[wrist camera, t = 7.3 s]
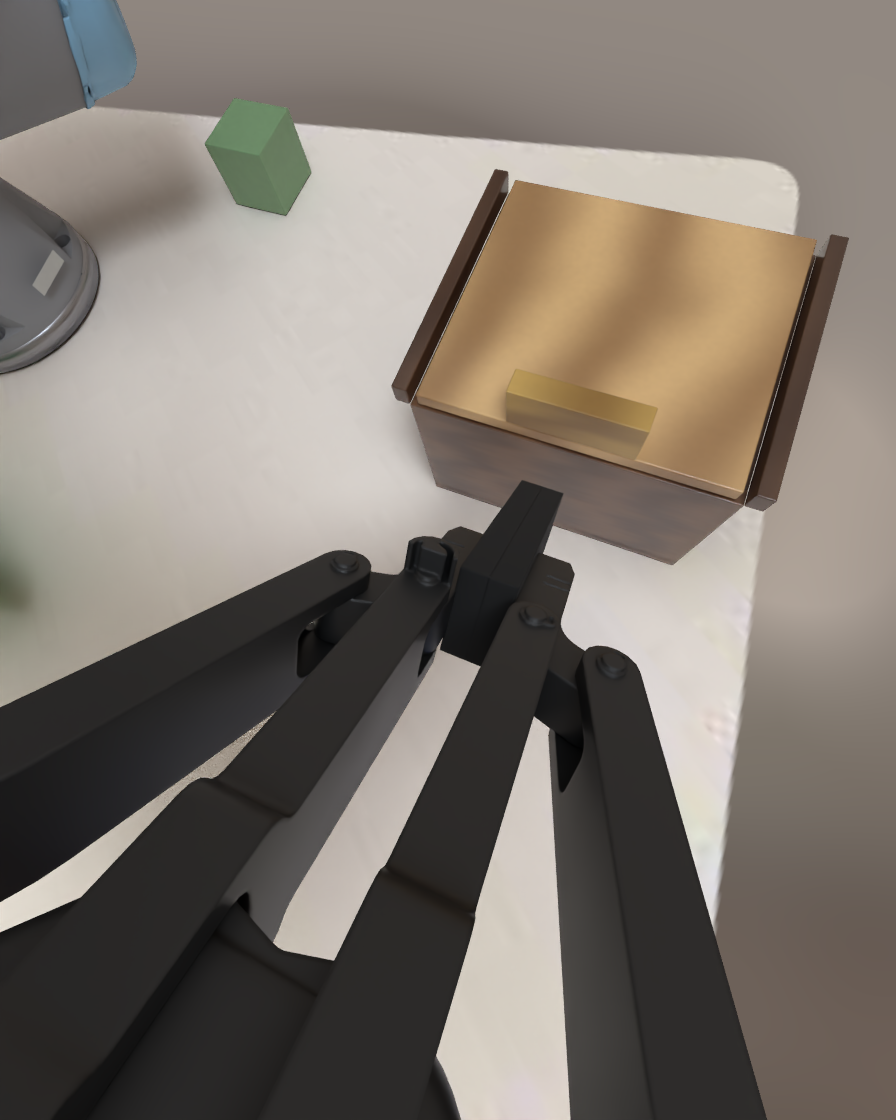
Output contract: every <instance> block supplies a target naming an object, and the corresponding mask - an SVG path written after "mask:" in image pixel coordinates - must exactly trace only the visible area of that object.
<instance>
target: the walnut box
mask: <svg viewBox="0 0 896 1120" xmlns="http://www.w3.org/2000/svg"><path fill="white" fill-rule="evenodd" d="M507 194H508V172H507V171H503V170H498V169H495V170H494V173H493V175H492V177H491V179H490V181H489V183H488V185H487V187H486V189H485V191H484V193H483V196H482V198H481V200H480V202H479V204H478V206H477V208H476V210H475V212H474V214H473V216H472V218H471V221H470V223H469V225H468V227H467V229H466V231H465V233H464V235H463V237H462V239H461V241H460V244H459V246H458V248H457V250H456V252H455V254H454V256H453V258H452V260H451V262H450V264H449V267H448V269H447V271H446V273H445V275H444V277H443V279H442V281H441V283H440V285H439V287H438V290H437V292H436V294H435V296H434V298H433V300H432V302H431V304H430V306H429V308H428V310H427V312H426V315H425V317H424V319H423V321H422V323H421V325H420V327H419V329H418V331H417V333H416V335H415V338H414V340H413V342H412V344H411V346H410V348H409V350H408V352H407V354H406V356H405V358H404V361H403V363H402V365H401V367H400V369H399V371H398V373H397V375H396V377H395V379H394V381H393V383H392V389H393V392H394V395H395V398H396V399H397V400H399V401H402V402H406V403H410V402H411V400H412V398H413V396H414V393H415V391H416V389H417V387H418V385H419V383H420V381H421V378H422V376H423V374H424V372H425V370H426V368H427V365H428V363H429V361H430V359H431V357H432V355H433V353H434V350H435V348H436V346H437V344H438V342H439V340H440V338H441V335H442V333H443V331H444V329H445V327H446V325H447V323H448V320H449V318H450V316H451V314H452V312H453V310H454V308H455V305H456V303H457V301H458V299H459V297H460V295H461V292H462V290H463V288H464V286H465V284H466V282H467V280H468V277H469V275H470V273H471V271H472V269H473V267H474V265H475V262H476V260H477V258H478V256H479V254H480V252H481V250H482V247H483V245H484V243H485V241H486V239H487V237H488V235H489V232H490V230H491V228H492V226H493V224H494V222H495V219H496V217H497V215H498V213H499V211H500V209H501V207H502V204H503V202H504V200H505V198H506V196H507ZM508 195H509V194H508ZM507 198H508V196H507ZM506 200H507V199H506ZM505 202H506V201H505ZM504 204H505V203H504ZM503 206H504V205H503ZM502 208H503V207H502ZM501 211H502V209H501ZM501 211H500V213H501ZM500 213H499V215H500ZM498 217H499V216H498ZM497 219H498V218H497ZM496 221H497V220H496ZM495 223H496V222H495ZM494 226H495V224H494ZM494 226H493V228H494ZM493 228H492V230H493ZM491 232H492V231H491ZM490 234H491V233H490ZM489 236H490V235H489ZM488 238H489V237H488ZM848 240H849V238H847V237H842V236H837V235H831V236H830V237H829V238H828V240H827V241H826V243H825V244H824V246H823V247H822V249H821V250H820V251H819V253H818V254H817V256H816V260H815V255H813V256H812V259H811V263H810V266H809V269H808V273H807V276H806V280H805V283H804V287H803V290H802V294H801V297H800V300H799V304H798V307H797V311H796V314H795V318H794V321H793V324H792V328H791V331H790V335H789V338H788V342H787V345H786V348H785V352H784V355H783V359H782V362H781V366H780V369H779V373H778V376H777V379H776V383H775V386H774V390H773V393H772V397H771V400H770V403H769V407H768V410H767V414H766V417H765V421H764V424H763V428H762V431H761V434H760V438H759V441H758V445H757V448H756V452H755V455H754V458H753V462H752V465H751V469H750V472H749V476H748V479H747V482H746V486H745V489H744V492H743V493H742V494H741V495H740V496H739V497H738V498H737V499H732V498H729V497H726V496H722V495H719V494H716V493H712V492H709V491H706V490H702V489H699V488H696V487H693V486H689V485H686V484H683V483H679V482H676V481H673V480H669V479H666V478H663V477H660V476H656V475H653V474H650V473H646V472H643V471H640V470H636V469H633V468H630V467H627V466H623V465H620V464H617V463H613V462H610V461H607V460H603V459H600V458H597V457H594V456H590V455H587V454H584V453H580V452H577V451H574V450H570V449H567V448H564V447H561V446H557V445H554V444H551V443H547V442H544V441H541V440H537V439H534V438H531V437H527V436H524V435H521V434H518V433H514V432H511V431H508V430H504V429H501V428H498V427H494V426H491V425H488V424H485V423H481V422H478V421H475V420H471V419H468V418H465V417H461V416H458V415H455V414H452V413H448V412H445V411H442V410H438V409H435V408H432V407H428V406H425V405H422V404H419V403H418V400H417V397H416V394H415V396H414V398H413V400H412V403H411V408H412V411H413V414H414V417H415V420H416V423H417V426H418V429H419V432H420V435H421V439H422V442H423V445H424V448H425V451H426V454H427V457H428V460H429V463H430V466H431V469H432V473H433V476H434V479H435V482H436V485H437V486H438V487H441V488H444V489H447V490H450V491H453V492H456V493H459V494H462V495H465V496H468V497H471V498H474V499H477V500H480V501H483V502H486V503H489V504H492V505H495V506H498V507H501V508H502V507H503V506H504V505H505V503H506V502H507V500H508V499H509V497H510V496H511V495H512V493H513V492H514V490H515V489H516V488H517V486H518V485H519V483H520V482H521V481H522V480H524V481H527V482H530V483H533V484H537V485H540V486H543V487H546V488H549V489H552V490H555V491H558V492H561V493H564V494H563V497H562V500H561V502H560V505H559V508H558V511H557V514H556V517H555V520H554V523H553V525H554V526H557V527H560V528H563V529H566V530H569V531H572V532H575V533H578V534H581V535H584V536H587V537H590V538H593V539H596V540H599V541H602V542H605V543H608V544H611V545H614V546H617V547H620V548H623V549H626V550H629V551H632V552H635V553H638V554H641V555H644V556H647V557H650V558H653V559H656V560H659V561H662V562H665V563H668V564H671V565H673V564H674V563H676V562H677V561H678V560H679V559H680V558H682V557H683V556H684V555H685V554H686V553H688V552H689V551H690V550H691V549H692V548H694V547H695V546H696V545H697V544H698V543H700V542H701V541H702V540H703V539H704V538H706V537H707V536H708V535H709V534H710V533H712V532H713V531H714V530H715V529H716V528H718V527H719V526H720V525H721V524H722V523H724V522H725V521H726V520H727V519H728V518H730V517H731V516H732V515H733V514H734V513H736V512H737V511H738V510H739V509H740V508H742V507H743V506H744V503H745V506H746V507H750V508H753V509H756V510H760V511H764V510H766V509H767V508H768V507H770V506H771V505H772V504H774V503H775V502H776V501H777V498H778V494H779V491H780V487H781V484H782V480H783V476H784V473H785V469H786V465H787V462H788V458H789V454H790V451H791V447H792V443H793V440H794V436H795V432H796V429H797V425H798V422H799V418H800V414H801V411H802V407H803V403H804V400H805V396H806V392H807V389H808V385H809V382H810V378H811V374H812V371H813V367H814V363H815V360H816V356H817V352H818V349H819V345H820V341H821V337H822V334H823V330H824V327H825V323H826V320H827V316H828V312H829V309H830V305H831V302H832V298H833V294H834V291H835V287H836V283H837V280H838V276H839V272H840V269H841V265H842V261H843V258H844V254H845V251H846V247H847V243H848ZM487 241H488V239H487ZM487 241H486V243H487ZM485 245H486V244H485ZM484 247H485V246H484ZM483 249H484V248H483ZM482 251H483V250H482ZM481 254H482V252H481ZM481 254H480V256H481ZM480 256H479V258H480ZM478 260H479V259H478ZM814 260H815V263H814ZM477 262H478V261H477ZM476 264H477V263H476ZM813 264H814V267H813ZM475 266H476V265H475ZM812 267H813V270H812ZM474 269H475V267H474ZM474 269H473V271H474ZM811 270H812V274H811ZM473 271H472V273H473ZM810 274H811V278H810V280H809V277H810ZM471 275H472V274H471ZM470 277H471V276H470ZM469 279H470V278H469ZM808 281H809V284H808ZM468 282H469V280H468ZM468 282H467V284H468ZM467 284H466V286H467ZM807 284H808V288H807ZM465 288H466V287H465ZM806 288H807V291H806ZM464 290H465V289H464ZM805 291H806V294H805ZM463 292H464V291H463ZM462 294H463V293H462ZM804 295H805V298H804ZM461 297H462V295H461ZM461 297H460V299H461ZM803 298H804V301H803ZM460 299H459V301H460ZM802 302H803V305H802ZM458 303H459V302H458ZM457 305H458V304H457ZM801 305H802V308H801ZM456 307H457V306H456ZM800 308H801V312H800ZM455 309H456V308H455ZM454 312H455V310H454ZM454 312H453V314H454ZM799 312H800V316H799V319H798V315H799ZM453 314H452V316H453ZM451 318H452V317H451ZM797 319H798V322H797ZM450 320H451V319H450ZM449 322H450V321H449ZM796 322H797V326H796ZM448 325H449V323H448ZM448 325H447V327H448ZM795 326H796V329H795ZM447 327H446V329H447ZM794 329H795V332H794ZM445 331H446V330H445ZM444 333H445V332H444ZM793 333H794V336H793ZM443 335H444V334H443ZM792 336H793V339H792ZM442 337H443V336H442ZM441 340H442V338H441ZM441 340H440V342H441ZM791 340H792V343H791ZM440 342H439V344H440ZM790 343H791V346H790ZM438 346H439V345H438ZM789 347H790V350H789ZM437 348H438V347H437ZM436 350H437V349H436ZM788 350H789V353H788ZM435 353H436V351H435ZM435 353H434V355H435ZM787 353H788V357H787ZM434 355H433V357H434ZM433 357H432V359H433ZM786 357H787V360H786ZM785 360H786V364H785ZM431 361H432V360H431ZM430 363H431V362H430ZM784 364H785V367H784ZM429 365H430V364H429ZM783 367H784V370H783ZM428 368H429V366H428ZM428 368H427V370H428ZM427 370H426V372H427ZM782 371H783V374H782ZM425 374H426V373H425ZM781 374H782V377H781ZM424 376H425V375H424ZM423 378H424V377H423ZM780 378H781V381H780ZM422 380H423V379H422ZM779 381H780V384H779ZM421 383H422V381H421ZM421 383H420V385H421ZM420 385H419V387H420ZM778 385H779V388H778ZM777 388H778V391H777ZM418 389H419V388H418ZM417 391H418V390H417ZM776 391H777V395H776ZM416 393H417V392H416ZM775 395H776V398H775ZM774 398H775V402H774ZM773 402H774V405H773ZM772 405H773V409H772ZM771 409H772V412H771ZM770 412H771V415H770ZM769 416H770V419H769ZM768 419H769V422H768ZM767 423H768V426H767ZM766 426H767V429H766ZM765 429H766V433H765ZM764 433H765V436H764ZM763 436H764V440H763ZM762 440H763V443H762ZM761 443H762V447H761ZM760 447H761V450H760ZM759 450H760V454H759ZM758 454H759V457H758ZM757 457H758V460H757ZM756 461H757V464H756ZM755 464H756V467H755ZM754 468H755V471H754ZM753 471H754V474H753ZM752 474H753V478H752ZM751 478H752V481H751ZM750 481H751V485H750ZM749 485H750V488H749ZM748 488H749V492H748V491H747V490H748ZM747 492H748V495H747ZM746 496H747V499H746ZM745 499H746V502H745Z"/></svg>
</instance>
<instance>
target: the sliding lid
mask: <svg viewBox="0 0 896 1120" xmlns="http://www.w3.org/2000/svg"><path fill="white" fill-rule="evenodd" d="M816 241H817V240H815V239H810V238H805V237H800V236H795V235H790V234H785V233H780V232H775V231H770V230H765V229H760V228H755V227H750V226H745V225H740V224H734V223H729V222H724V221H719V220H714V219H709V218H704V217H699V216H694V215H689V214H684V213H679V212H674V211H669V210H664V209H659V208H654V207H649V206H644V205H639V204H634V203H629V202H624V201H619V200H614V199H609V198H604V197H599V196H594V195H589V194H583V193H578V192H573V191H568V190H563V189H558V188H553V187H548V186H543V185H538V184H533V183H528V182H523V181H518V180H516V181H515V183H514V185H513V187H512V189H511V191H510V193H509V195H508V198H507V200H506V202H505V204H504V206H503V208H502V211H501V213H500V215H499V217H498V219H497V221H496V223H495V226H494V228H493V230H492V232H491V234H490V236H489V238H488V241H487V243H486V245H485V247H484V249H483V251H482V254H481V256H480V258H479V260H478V262H477V264H476V266H475V269H474V271H473V273H472V275H471V277H470V279H469V282H468V284H467V286H466V288H465V290H464V292H463V294H462V297H461V299H460V301H459V303H458V305H457V307H456V309H455V312H454V314H453V316H452V318H451V320H450V322H449V325H448V327H447V329H446V331H445V333H444V335H443V337H442V340H441V342H440V344H439V346H438V348H437V350H436V353H435V355H434V357H433V359H432V361H431V363H430V365H429V368H428V370H427V372H426V374H425V376H424V378H423V380H422V383H421V385H420V387H419V389H418V391H417V393H416V397H417V400H418V403H419V404H422V405H425V406H428V407H432V408H435V409H438V410H442V411H445V412H448V413H452V414H455V415H458V416H461V417H465V418H468V419H471V420H475V421H478V422H481V423H485V424H488V425H491V426H494V427H498V428H501V429H504V430H508V431H511V432H514V433H518V434H521V435H524V436H527V437H531V438H534V439H537V440H541V441H544V442H547V443H551V444H554V445H557V446H561V447H564V448H567V449H570V450H574V451H577V452H580V453H584V454H587V455H590V456H594V457H597V458H600V459H603V460H607V461H610V462H613V463H617V464H620V465H623V466H627V467H630V468H633V469H636V470H640V471H643V472H646V473H650V474H653V475H656V476H660V477H663V478H666V479H669V480H673V481H676V482H679V483H683V484H686V485H689V486H693V487H696V488H699V489H702V490H706V491H709V492H712V493H716V494H719V495H722V496H726V497H729V498H732V499H737V498H738V497H739V496H740V495H741V494H742V493H743V492H744V489H745V486H746V482H747V479H748V476H749V472H750V469H751V465H752V462H753V458H754V455H755V452H756V448H757V445H758V441H759V438H760V434H761V431H762V428H763V424H764V421H765V417H766V414H767V410H768V407H769V403H770V400H771V397H772V393H773V390H774V386H775V383H776V379H777V376H778V373H779V369H780V366H781V362H782V359H783V355H784V352H785V348H786V345H787V342H788V338H789V335H790V331H791V328H792V324H793V321H794V318H795V314H796V311H797V307H798V304H799V300H800V297H801V294H802V290H803V287H804V283H805V280H806V276H807V273H808V269H809V266H810V263H811V259H812V256H813V252H814V249H815V245H816Z"/></svg>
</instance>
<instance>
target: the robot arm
mask: <svg viewBox="0 0 896 1120" xmlns="http://www.w3.org/2000/svg"><path fill="white" fill-rule="evenodd" d="M136 65H137V61H136V53H135V48H134V45H133V42H132V39H131V37H130V34H129V31H128V29H127V26H126V23H125V21H124V18H123V16H122V13H121V11H120V8H119V6H118V3H117V1H116V0H0V140H1V139H4V138H7V137H9V136H12V135H14V134H17V133H20V132H22V131H25V130H28V129H30V128H33V127H35V126H38V125H41V124H43V123H46V122H48V121H51V120H54V119H56V118H59V117H61V116H64V115H67V114H69V113H72V112H74V111H77V110H80V109H82V108H85V107H86V108H87V109H90V108H91V107H93V106H94V105H95V101H96V100H98V99H100V98H102V97H104V96H106V95H108V94H110V93H112V92H114V91H116V90H118V89H121V88H123V87H125V86H127V85H128V84H129V82H130V81H131V80H132V79H133V77H134V74H135V70H136ZM98 275H99V274H98V265H97V260H96V257H95V255H94V253H93V251H92V249H91V248H90V246H89V245H88V244H87V243H86V241H85V240H84V239H83V238H82V237H81V236H80V235H79V234H78V233H77V232H76V230H75V229H74V228H73V227H72V226H71V225H70V224H69V223H68V222H66V221H65V220H64V219H62V218H61V217H60V216H58V215H57V214H55V213H54V212H52V211H51V210H49V209H48V208H46V207H45V206H43V205H42V204H40V203H39V202H37V201H36V200H34V199H33V198H31V197H29V196H28V195H26V194H25V193H23V192H22V191H20V190H19V189H17V188H16V187H14V186H13V185H11V184H10V183H8V182H7V181H5V180H3V179H2V178H0V373H4V372H8V371H12V370H16V369H19V368H22V367H24V366H27V365H29V364H31V363H33V362H35V361H37V360H39V359H41V358H43V357H44V356H46V355H47V354H49V353H50V352H52V351H53V350H55V349H56V348H57V347H58V346H60V345H61V344H62V343H63V342H64V341H65V340H66V339H67V338H68V337H69V336H70V335H71V334H72V333H73V332H74V331H75V330H76V329H77V327H78V326H79V325H80V324H81V322H82V321H83V319H84V318H85V316H86V314H87V313H88V311H89V309H90V307H91V305H92V303H93V300H94V297H95V294H96V290H97V285H98ZM563 494H564V493H561V492H558V491H555V490H552V489H549V488H546V487H543V486H540V485H537V484H533V483H530V482H527V481H524V480H522V481H521V482H520V483H519V485H518V486H517V488H516V489H515V490H514V492H513V493H512V495H511V496H510V497H509V499H508V500H507V502H506V503H505V505H504V506H503V507H502V509H501V510H500V512H499V513H498V514H497V516H496V517H495V519H494V520H493V521H492V523H491V524H490V526H489V527H488V529H487V530H486V531H485V533H484V534H481V533H478V532H475V531H472V530H469V529H467V528H464V527H461V526H460V527H457V528H455V529H452V530H449V531H448V532H447V533H446V534H445V535H444V537H443V538H442V539H440V538H436V537H428V536H422V537H417V538H414V539H412V540H410V541H409V543H408V549H407V554H406V560H405V566H404V569H403V570H402V571H401V572H400V574H399V575H390V574H382V573H376V572H371V564H370V562H369V560H368V559H367V558H366V557H364V556H363V555H361V554H359V553H356V552H353V551H347V550H337V551H332V552H328V553H325V554H323V555H321V556H319V557H317V558H315V559H313V560H311V561H309V562H306V563H304V564H302V565H300V566H298V567H296V568H294V569H292V570H290V571H287V572H285V573H283V574H281V575H279V576H277V577H275V578H273V579H271V580H268V581H266V582H264V583H262V584H260V585H258V586H256V587H254V588H252V589H249V590H247V591H245V592H243V593H241V594H239V595H237V596H235V597H233V598H230V599H228V600H226V601H224V602H222V603H220V604H218V605H216V606H214V607H211V608H209V609H207V610H205V611H203V612H201V613H199V614H197V615H195V616H192V617H190V618H188V619H186V620H184V621H182V622H180V623H178V624H176V625H173V626H171V627H169V628H167V629H165V630H163V631H161V632H159V633H157V634H154V635H152V636H150V637H148V638H146V639H144V640H142V641H140V642H138V643H135V644H133V645H131V646H129V647H127V648H125V649H123V650H121V651H119V652H116V653H114V654H112V655H110V656H108V657H106V658H104V659H102V660H100V661H97V662H95V663H93V664H91V665H89V666H87V667H85V668H83V669H81V670H78V671H76V672H74V673H72V674H70V675H68V676H66V677H64V678H62V679H59V680H57V681H55V682H53V683H51V684H49V685H47V686H45V687H43V688H40V689H38V690H36V691H34V692H32V693H30V694H28V695H26V696H24V697H21V698H19V699H17V700H15V701H13V702H11V703H9V704H7V705H5V706H2V707H0V902H1V901H3V900H5V899H6V898H8V897H10V896H12V895H14V894H15V893H17V892H19V891H21V890H22V889H24V888H26V887H28V886H29V885H31V884H33V883H35V882H36V881H38V880H39V879H41V878H42V877H44V876H45V875H47V874H48V873H50V872H51V871H53V870H54V869H56V868H57V867H59V866H60V865H62V864H63V863H65V862H66V861H68V860H69V859H71V858H72V857H74V856H75V855H77V854H78V853H79V852H81V851H82V850H84V849H85V848H86V847H88V846H89V845H90V844H92V843H93V842H95V841H96V840H97V839H99V838H100V837H102V836H103V835H104V834H106V833H107V832H109V831H110V830H111V829H113V828H114V827H115V826H117V825H118V824H120V823H121V822H122V821H124V820H125V819H127V818H128V817H129V816H131V815H132V814H134V813H135V812H136V811H138V810H139V809H141V808H142V807H143V806H145V805H146V804H147V803H149V802H150V801H152V800H153V799H154V798H156V797H157V796H159V795H160V794H161V793H163V792H164V791H166V790H167V789H168V788H170V787H171V786H173V785H174V784H175V783H177V782H178V781H179V780H181V779H182V778H184V777H185V776H186V775H188V774H189V773H191V772H192V771H193V770H195V769H196V768H198V767H199V766H200V765H202V764H203V763H204V762H206V761H207V760H209V759H210V758H211V757H213V756H214V755H216V754H217V753H218V752H220V751H221V750H223V749H224V748H225V747H227V746H228V745H230V744H231V743H232V742H234V741H235V740H236V739H238V738H239V737H241V736H242V735H243V734H245V733H246V732H248V731H249V730H250V729H252V728H253V727H255V726H256V725H257V724H259V723H260V722H262V721H263V720H264V719H266V718H267V717H268V716H270V715H271V714H273V713H274V712H275V711H276V712H275V714H274V715H273V716H272V717H271V718H270V719H269V720H268V721H267V723H266V724H265V725H264V726H263V727H262V728H261V729H260V730H259V731H258V733H257V734H256V735H255V736H254V737H253V738H252V739H251V740H250V742H249V743H248V744H247V745H246V746H245V747H244V748H243V749H242V751H241V752H240V753H239V754H238V755H237V756H236V757H235V758H234V759H233V761H232V762H231V763H230V764H229V765H228V766H227V767H226V768H225V770H224V771H222V772H221V773H220V774H219V775H218V776H216V777H215V778H213V779H210V778H199V779H197V780H195V781H193V782H191V783H190V784H189V785H188V786H187V787H185V788H184V789H183V790H182V791H181V792H180V793H179V794H178V795H177V796H176V797H175V798H174V799H173V800H172V801H171V802H170V803H169V804H168V805H167V807H166V808H165V809H164V810H163V811H162V812H161V813H160V814H159V815H158V816H157V817H156V818H155V819H154V820H153V821H152V822H151V824H150V825H149V826H148V827H147V828H146V829H145V830H144V831H143V832H142V833H141V834H140V835H139V836H138V837H137V838H136V839H135V841H134V842H133V843H132V844H131V845H130V846H129V847H128V848H127V849H126V850H125V851H124V852H123V853H122V854H121V855H120V856H119V858H118V859H117V860H116V861H115V862H114V863H113V864H112V865H111V866H110V867H109V868H108V869H107V870H106V871H105V872H104V873H103V875H102V876H101V877H100V878H99V879H98V880H97V881H96V882H95V883H94V884H93V885H92V886H91V887H90V888H89V889H88V890H87V892H86V893H85V894H84V895H83V896H82V897H81V898H78V899H76V900H74V901H72V902H69V903H67V904H65V905H62V906H60V907H58V908H55V909H53V910H51V911H49V912H46V913H44V914H42V915H39V916H37V917H35V918H32V919H30V920H28V921H25V922H23V923H21V924H19V925H16V926H14V927H12V928H9V929H7V930H5V931H2V932H0V1120H461V1118H460V1115H459V1111H458V1108H457V1105H456V1101H455V1098H454V1095H453V1092H452V1089H451V1087H450V1084H449V1082H448V1080H447V1077H446V1075H445V1072H444V1070H443V1068H442V1066H441V1064H440V1063H439V1061H438V1059H437V1057H436V1054H437V1050H438V1047H439V1043H440V1040H441V1037H442V1033H443V1030H444V1026H445V1023H446V1020H447V1016H448V1013H449V1009H450V1006H451V1003H452V999H453V996H454V993H455V989H456V986H457V982H458V979H459V976H460V972H461V969H462V965H463V962H464V959H465V955H466V952H467V949H468V945H469V941H470V938H471V934H472V931H473V927H474V922H475V911H476V907H477V903H478V900H479V896H480V893H481V890H482V886H483V883H484V880H485V876H486V873H487V870H488V867H489V863H490V860H491V857H492V853H493V850H494V847H495V843H496V840H497V837H498V833H499V830H500V827H501V823H502V820H503V817H504V813H505V810H506V807H507V803H508V800H509V797H510V793H511V790H512V787H513V783H514V780H515V777H516V773H517V770H518V767H519V763H520V760H521V757H522V753H523V750H524V747H525V744H526V740H527V737H528V734H529V730H530V727H531V724H532V720H533V717H536V718H537V719H538V720H540V721H541V722H542V723H544V724H545V725H546V726H548V727H549V728H550V730H549V735H548V736H549V754H550V771H551V788H552V805H553V823H554V840H555V857H556V875H557V892H558V909H559V926H560V944H561V961H562V978H563V995H564V1013H565V1030H566V1047H567V1065H568V1082H569V1099H570V1116H571V1120H767V1118H766V1114H765V1111H764V1107H763V1104H762V1100H761V1097H760V1093H759V1090H758V1086H757V1082H756V1079H755V1075H754V1072H753V1069H752V1065H751V1061H750V1058H749V1054H748V1051H747V1047H746V1044H745V1040H744V1037H743V1033H742V1030H741V1026H740V1023H739V1019H738V1015H737V1012H736V1008H735V1005H734V1001H733V998H732V994H731V991H730V987H729V984H728V980H727V977H726V973H725V970H724V966H723V962H722V959H721V955H720V952H719V948H718V945H717V941H716V938H715V934H714V931H713V927H712V924H711V920H710V917H709V913H708V909H707V906H706V902H705V899H704V895H703V892H702V888H701V885H700V881H699V878H698V874H697V871H696V867H695V864H694V860H693V857H692V853H691V849H690V846H689V842H688V839H687V835H686V832H685V828H684V825H683V821H682V818H681V814H680V811H679V807H678V804H677V800H676V797H675V793H674V789H673V786H672V782H671V779H670V775H669V772H668V768H667V765H666V761H665V758H664V754H663V751H662V747H661V744H660V740H659V737H658V733H657V729H656V726H655V722H654V719H653V715H652V712H651V708H650V705H649V701H648V698H647V694H646V691H645V687H644V684H643V680H642V677H641V673H640V671H639V669H638V667H637V665H636V664H635V663H634V662H633V661H632V660H631V659H630V658H629V657H628V656H626V655H625V654H623V653H622V652H620V651H618V650H616V649H613V648H610V647H606V646H593V647H589V648H588V649H587V650H586V651H584V650H583V649H581V648H579V647H578V646H577V645H575V644H574V643H573V642H571V641H570V640H569V639H568V638H567V637H566V635H565V634H564V632H563V631H562V628H561V618H562V615H563V612H564V608H565V605H566V602H567V598H568V595H569V592H570V588H571V585H572V582H573V578H574V575H575V574H574V571H573V569H572V567H571V564H570V563H567V562H564V561H561V560H558V559H556V558H553V557H550V556H547V555H544V554H543V552H544V549H545V546H546V543H547V540H548V537H549V534H550V532H551V529H552V526H553V523H554V520H555V517H556V514H557V511H558V508H559V505H560V502H561V500H562V497H563ZM313 621H314V622H313ZM312 622H313V623H312ZM310 623H311V624H310ZM442 638H443V640H442ZM441 640H442V644H441V648H440V650H442V651H444V652H447V653H449V654H451V655H454V656H456V657H459V658H461V659H464V660H466V661H469V662H471V663H473V664H476V665H478V666H481V667H480V669H479V671H478V673H477V675H476V678H475V680H474V682H473V684H472V686H471V688H470V690H469V692H468V694H467V696H466V698H465V701H464V703H463V705H462V707H461V709H460V711H459V713H458V715H457V717H456V719H455V722H454V724H453V726H452V728H451V730H450V732H449V734H448V736H447V738H446V740H445V742H444V745H443V747H442V749H441V751H440V753H439V755H438V757H437V759H436V761H435V763H434V766H433V768H432V770H431V772H430V774H429V776H428V778H427V780H426V782H425V784H424V786H423V789H422V791H421V793H420V795H419V797H418V799H417V801H416V803H415V805H414V807H413V810H412V812H411V814H410V816H409V818H408V820H407V822H406V824H405V826H404V828H403V830H402V833H401V835H400V837H399V839H398V841H397V843H396V845H395V847H394V849H393V851H392V854H391V855H390V857H389V859H388V861H387V863H386V865H385V866H384V867H383V868H381V869H380V871H379V872H378V874H377V875H376V877H375V879H374V881H373V883H372V885H371V887H370V889H369V891H368V892H367V895H366V897H365V899H364V901H363V903H362V905H361V907H360V909H359V911H358V913H357V915H356V917H355V919H354V921H353V923H352V925H351V927H350V929H349V932H348V934H347V936H346V938H345V940H344V942H343V944H342V946H341V948H340V950H339V952H338V954H337V956H336V958H335V960H334V961H332V960H327V959H322V958H317V957H312V956H307V955H302V954H297V953H292V952H287V951H283V950H281V949H279V948H278V947H277V946H276V945H275V944H274V943H273V941H274V939H275V937H276V934H277V932H278V930H279V927H280V925H281V922H282V919H283V917H284V914H285V911H286V909H287V907H288V905H289V903H290V901H291V899H292V897H293V895H294V894H295V892H296V890H297V889H298V887H299V885H300V884H301V882H302V880H303V879H304V877H305V875H306V874H307V872H308V870H309V869H310V867H311V865H312V864H313V862H314V860H315V859H316V857H317V855H318V854H319V852H320V850H321V849H322V847H323V845H324V844H325V842H326V840H327V839H328V837H329V835H330V834H331V832H332V830H333V828H334V827H335V825H336V823H337V822H338V820H339V818H340V817H341V815H342V813H343V812H344V810H345V808H346V807H347V805H348V803H349V802H350V800H351V798H352V797H353V795H354V793H355V792H356V790H357V788H358V787H359V785H360V783H361V782H362V780H363V778H364V777H365V775H366V773H367V772H368V770H369V768H370V767H371V765H372V763H373V762H374V760H375V758H376V757H377V755H378V753H379V752H380V750H381V748H382V747H383V745H384V743H385V742H386V740H387V738H388V737H389V735H390V733H391V731H392V730H393V728H394V726H395V725H396V723H397V721H398V720H399V718H400V716H401V715H402V713H403V711H404V710H405V708H406V706H407V705H408V703H409V701H410V700H411V698H412V696H413V695H414V693H415V691H416V690H417V688H418V686H419V685H420V683H421V681H422V680H423V678H424V676H425V675H426V673H427V671H428V670H429V668H430V666H431V665H432V663H433V660H434V657H435V653H436V648H437V646H438V645H439V643H440V641H441Z"/></svg>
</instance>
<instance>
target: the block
mask: <svg viewBox="0 0 896 1120" xmlns="http://www.w3.org/2000/svg"><path fill="white" fill-rule="evenodd" d="M205 146H206V148H207V150H208V151H209V153H210V155H211V157H212V159H213V161H214V163H215V164H216V166H217V168H218V170H219V172H220V174H221V175H222V177H223V179H224V181H225V183H226V185H227V187H228V188H229V190H230V192H231V194H232V196H233V198H234V199H235V201H236V203H237V204H239V205H244V206H248V207H252V208H256V209H261V210H265V211H269V212H273V213H278V214H282V215H287V213H288V211H289V210H290V208H291V206H292V204H293V203H294V201H295V199H296V197H297V196H298V194H299V192H300V191H301V189H302V187H303V185H304V184H305V182H306V180H307V178H308V177H309V175H310V173H311V169H310V167H309V164H308V161H307V159H306V156H305V153H304V150H303V148H302V145H301V142H300V140H299V137H298V134H297V131H296V129H295V126H294V123H293V121H292V118H291V115H290V113H289V110H288V108H284V107H279V106H274V105H268V104H262V103H258V102H252V101H246V100H242V99H236V98H234V99H233V101H232V102H231V104H230V105H229V107H228V108H227V110H226V112H225V113H224V115H223V116H222V118H221V119H220V121H219V122H218V124H217V125H216V127H215V129H214V130H213V132H212V133H211V135H210V136H209V138H208V139H207V141H206V142H205Z"/></svg>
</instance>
